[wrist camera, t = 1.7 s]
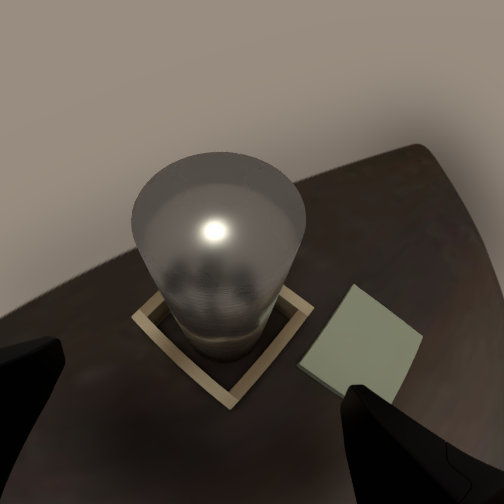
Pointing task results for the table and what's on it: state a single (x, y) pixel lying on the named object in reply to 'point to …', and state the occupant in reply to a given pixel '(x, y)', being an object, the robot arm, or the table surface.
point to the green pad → (362, 348)
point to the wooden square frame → (151, 318)
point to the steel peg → (219, 246)
